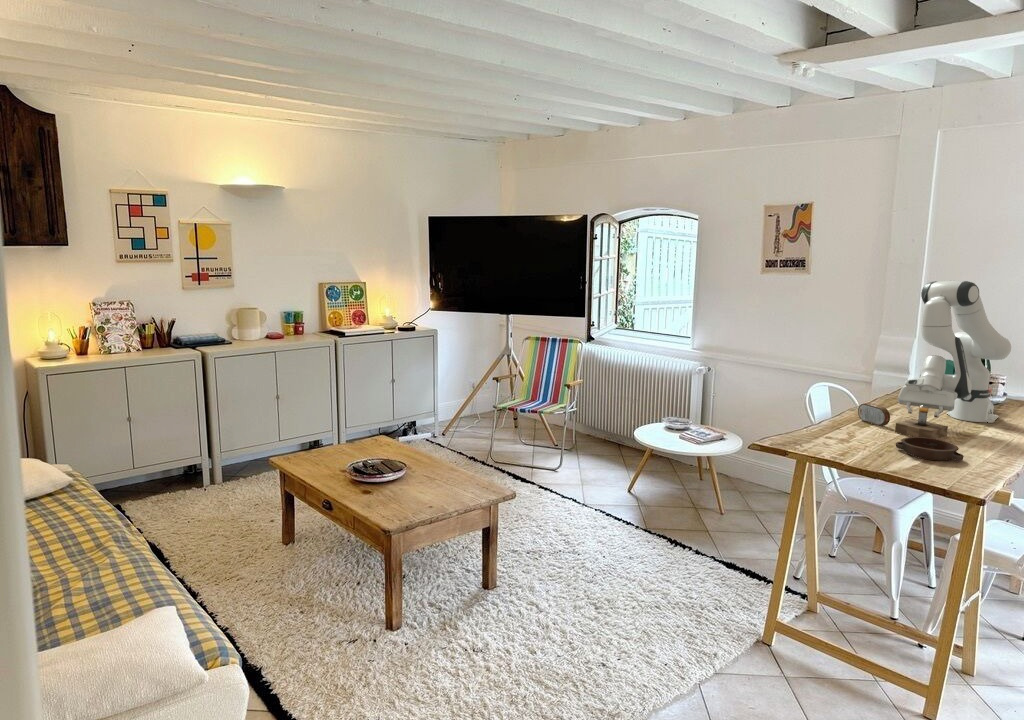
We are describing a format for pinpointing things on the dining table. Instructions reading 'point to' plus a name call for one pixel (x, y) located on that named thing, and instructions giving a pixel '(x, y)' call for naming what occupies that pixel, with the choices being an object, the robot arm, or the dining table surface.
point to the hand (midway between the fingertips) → (922, 414)
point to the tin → (874, 414)
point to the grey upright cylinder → (922, 415)
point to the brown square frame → (921, 429)
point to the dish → (930, 448)
